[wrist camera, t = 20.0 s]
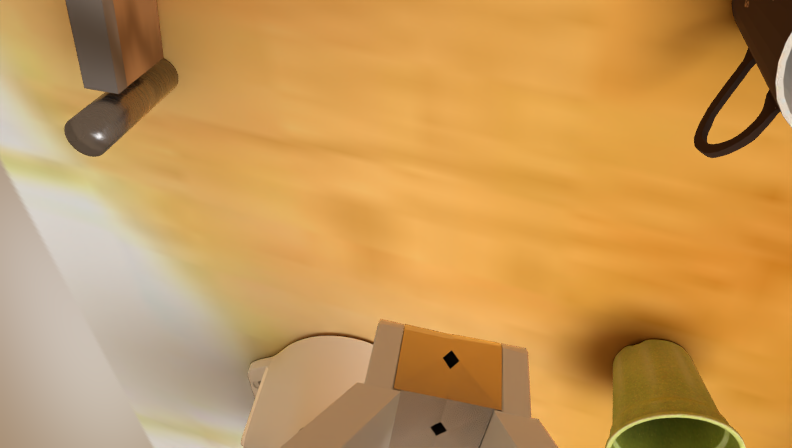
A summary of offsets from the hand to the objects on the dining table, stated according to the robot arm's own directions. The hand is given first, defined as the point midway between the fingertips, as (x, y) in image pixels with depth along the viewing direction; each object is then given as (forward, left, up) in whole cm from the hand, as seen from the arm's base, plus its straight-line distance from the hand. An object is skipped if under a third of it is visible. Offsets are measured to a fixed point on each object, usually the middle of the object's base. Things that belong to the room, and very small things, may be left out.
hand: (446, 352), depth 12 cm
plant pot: (-27, -20, -27) cm, 43 cm away
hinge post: (-9, +20, -27) cm, 35 cm away
